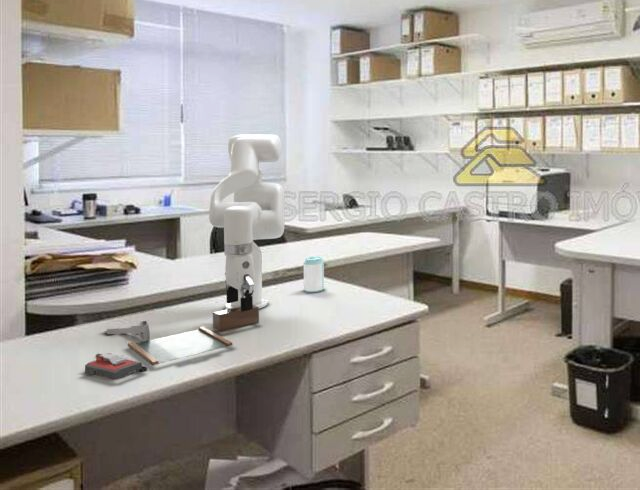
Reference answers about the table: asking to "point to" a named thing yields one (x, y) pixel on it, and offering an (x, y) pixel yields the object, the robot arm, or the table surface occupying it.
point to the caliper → (133, 330)
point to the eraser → (235, 318)
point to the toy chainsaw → (113, 366)
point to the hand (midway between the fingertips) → (239, 306)
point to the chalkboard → (179, 345)
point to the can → (313, 274)
